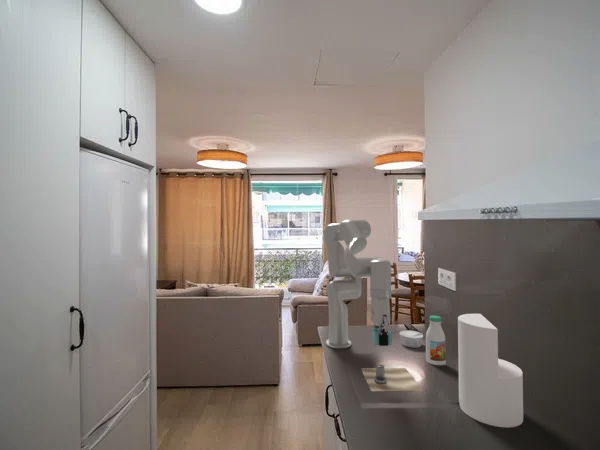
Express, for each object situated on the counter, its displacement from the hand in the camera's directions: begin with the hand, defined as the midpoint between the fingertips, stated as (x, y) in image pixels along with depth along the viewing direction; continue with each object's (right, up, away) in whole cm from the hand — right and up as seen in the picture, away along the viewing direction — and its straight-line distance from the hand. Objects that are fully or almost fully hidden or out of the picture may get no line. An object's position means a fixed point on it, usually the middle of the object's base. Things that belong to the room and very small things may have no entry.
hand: (381, 341), depth 117 cm
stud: (0, -14, 0) cm, 14 cm away
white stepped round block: (+30, -15, -17) cm, 38 cm away
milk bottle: (+27, -16, +17) cm, 36 cm away
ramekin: (+25, -16, +40) cm, 50 cm away
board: (+4, -16, +2) cm, 16 cm away
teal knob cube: (0, 0, 0) cm, 0 cm away
